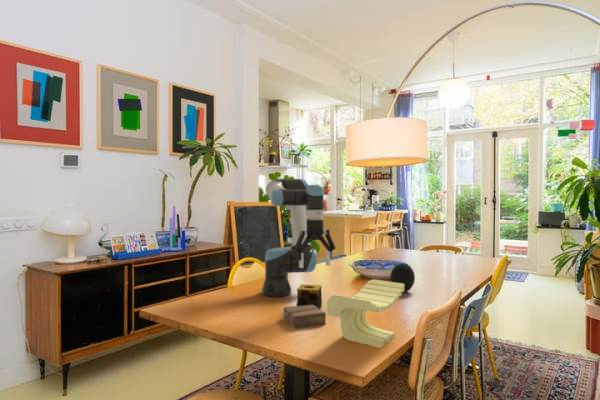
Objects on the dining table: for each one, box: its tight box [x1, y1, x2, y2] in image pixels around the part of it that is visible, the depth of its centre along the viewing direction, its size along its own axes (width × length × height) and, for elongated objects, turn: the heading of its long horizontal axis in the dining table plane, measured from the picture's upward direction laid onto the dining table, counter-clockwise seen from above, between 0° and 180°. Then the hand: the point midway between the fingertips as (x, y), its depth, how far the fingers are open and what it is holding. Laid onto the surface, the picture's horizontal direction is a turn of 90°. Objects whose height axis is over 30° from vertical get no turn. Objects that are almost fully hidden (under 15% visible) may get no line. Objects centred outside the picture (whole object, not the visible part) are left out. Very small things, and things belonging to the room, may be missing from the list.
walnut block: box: [283, 304, 327, 330], centre depth 162 cm, size 13×13×5 cm
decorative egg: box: [390, 262, 416, 293], centre depth 210 cm, size 12×12×15 cm
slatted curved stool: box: [326, 278, 405, 348], centre depth 144 cm, size 30×16×18 cm, turn 144°
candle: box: [296, 283, 323, 310], centre depth 179 cm, size 10×10×10 cm
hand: (314, 266), depth 179 cm, fingers open, 13 cm apart
